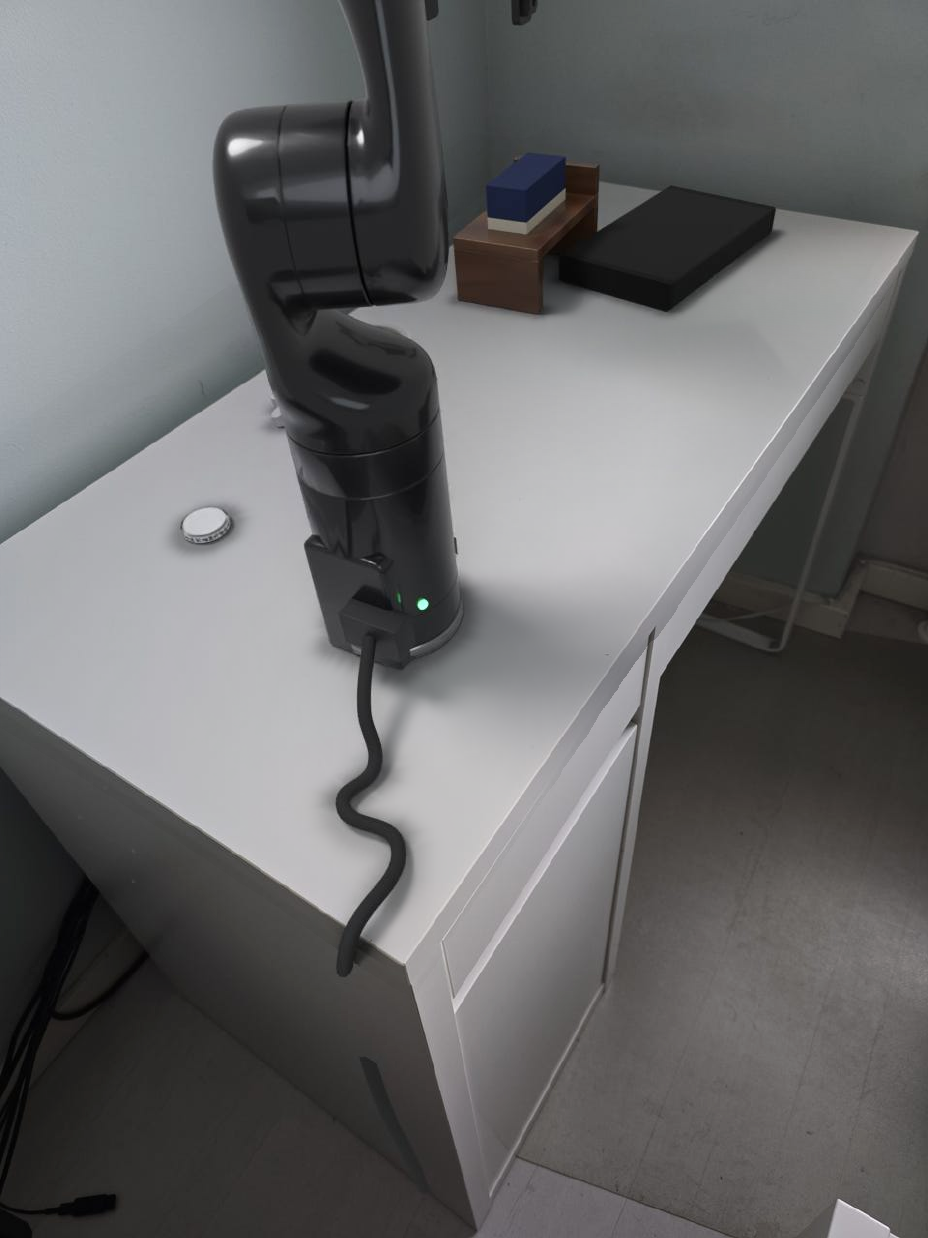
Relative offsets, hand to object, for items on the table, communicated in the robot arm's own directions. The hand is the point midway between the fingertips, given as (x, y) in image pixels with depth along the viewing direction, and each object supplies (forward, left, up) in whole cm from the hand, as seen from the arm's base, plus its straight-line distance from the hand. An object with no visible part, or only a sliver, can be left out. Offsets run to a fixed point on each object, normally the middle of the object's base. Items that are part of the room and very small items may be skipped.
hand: (474, 20), depth 70 cm
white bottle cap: (-36, +8, -28) cm, 46 cm away
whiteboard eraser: (+15, +3, -21) cm, 26 cm away
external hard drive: (+25, -10, -28) cm, 39 cm away
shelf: (+15, +3, -28) cm, 32 cm away
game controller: (-16, +10, -28) cm, 34 cm away
